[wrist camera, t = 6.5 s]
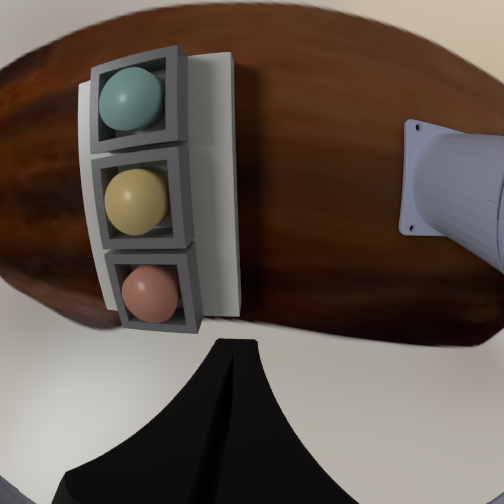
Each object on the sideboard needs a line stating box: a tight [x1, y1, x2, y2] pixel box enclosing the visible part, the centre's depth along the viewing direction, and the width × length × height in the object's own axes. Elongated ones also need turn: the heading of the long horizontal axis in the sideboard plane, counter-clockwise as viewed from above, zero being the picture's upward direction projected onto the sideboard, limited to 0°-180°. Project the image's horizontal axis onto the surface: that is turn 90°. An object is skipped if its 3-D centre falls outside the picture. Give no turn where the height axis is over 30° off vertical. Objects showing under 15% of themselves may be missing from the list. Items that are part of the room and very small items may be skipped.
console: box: [78, 45, 241, 334], centre depth 15 cm, size 10×16×4 cm, turn 1°
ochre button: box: [105, 167, 171, 235], centre depth 14 cm, size 3×3×2 cm
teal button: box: [99, 67, 165, 131], centre depth 12 cm, size 3×3×2 cm
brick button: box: [122, 264, 182, 323], centre depth 16 cm, size 3×3×2 cm
